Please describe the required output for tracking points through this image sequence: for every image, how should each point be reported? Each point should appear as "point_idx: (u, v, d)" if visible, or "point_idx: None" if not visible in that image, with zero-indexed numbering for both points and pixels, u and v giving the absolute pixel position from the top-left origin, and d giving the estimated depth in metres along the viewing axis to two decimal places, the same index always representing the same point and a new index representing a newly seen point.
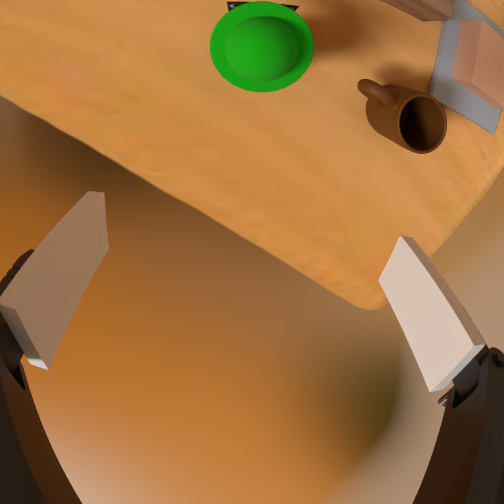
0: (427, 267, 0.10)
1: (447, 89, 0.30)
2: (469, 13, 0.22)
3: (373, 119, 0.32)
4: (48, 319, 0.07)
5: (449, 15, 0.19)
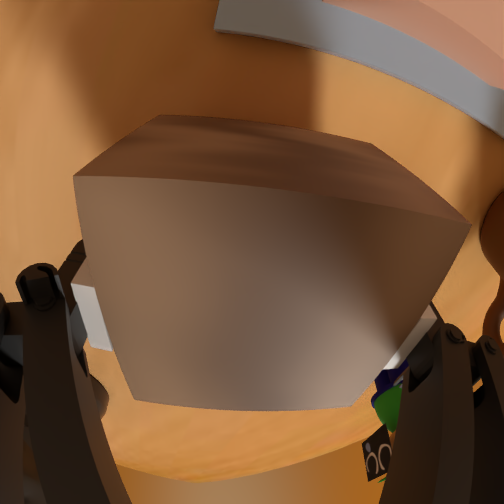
0: None
1: None
2: None
3: None
4: None
5: (458, 232, 0.06)
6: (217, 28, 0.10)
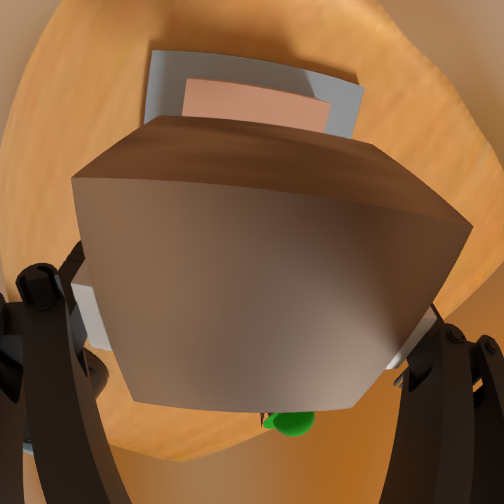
0: None
1: None
2: None
3: None
4: None
5: (459, 234, 0.06)
6: None
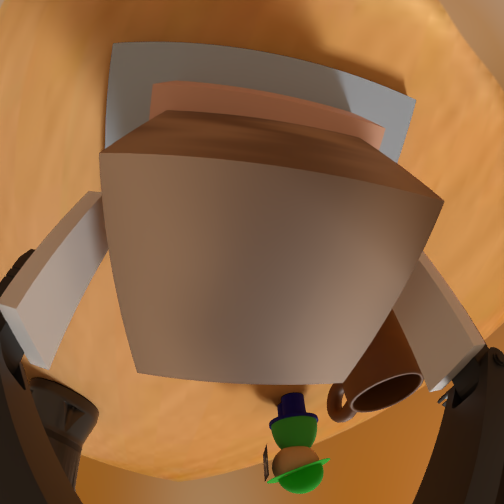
0: (427, 267, 0.10)
1: None
2: None
3: None
4: (48, 319, 0.07)
5: (431, 208, 0.07)
6: None
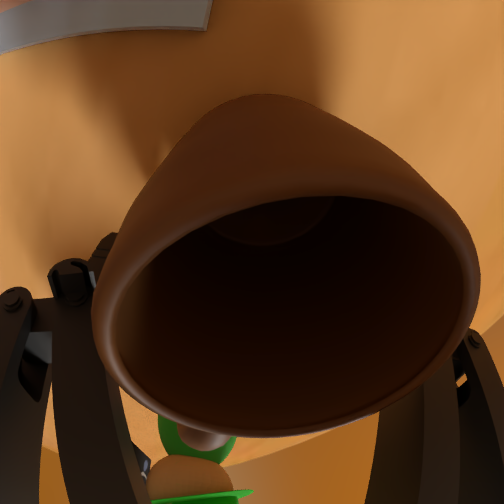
0: None
1: None
2: None
3: None
4: None
5: None
6: None
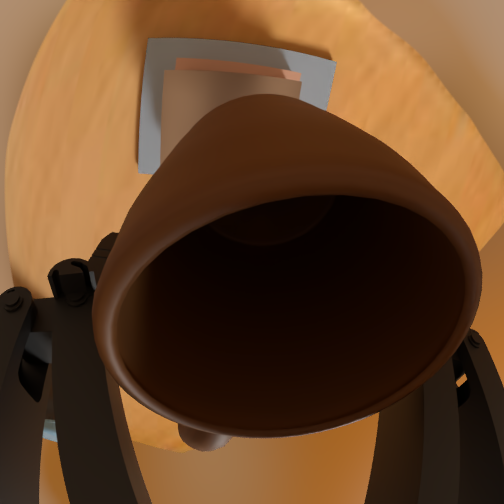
0: None
1: None
2: (156, 140, 0.30)
3: None
4: None
5: (295, 84, 0.17)
6: (139, 172, 0.32)
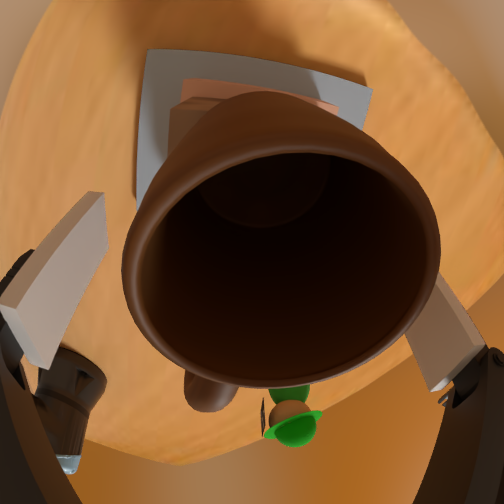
0: None
1: None
2: None
3: None
4: (48, 319, 0.07)
5: None
6: None
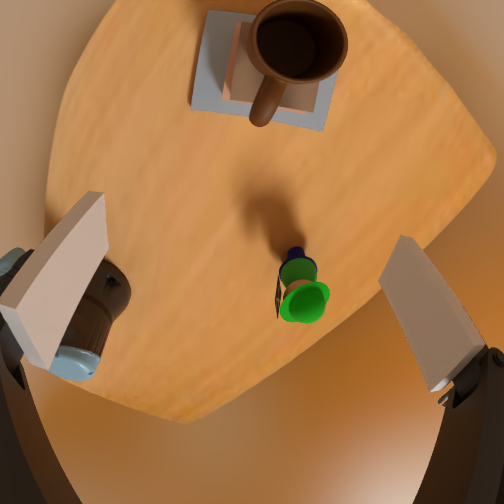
0: (427, 267, 0.10)
1: (311, 113, 0.39)
2: (208, 84, 0.36)
3: None
4: (48, 319, 0.07)
5: None
6: (191, 109, 0.39)
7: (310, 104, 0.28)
